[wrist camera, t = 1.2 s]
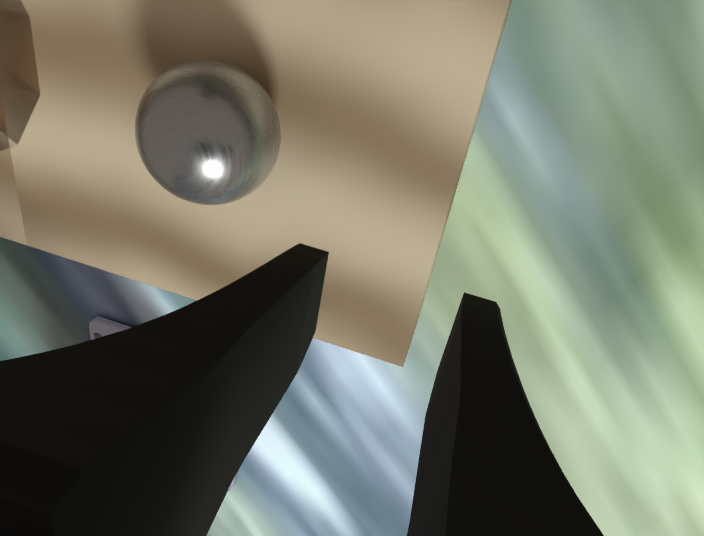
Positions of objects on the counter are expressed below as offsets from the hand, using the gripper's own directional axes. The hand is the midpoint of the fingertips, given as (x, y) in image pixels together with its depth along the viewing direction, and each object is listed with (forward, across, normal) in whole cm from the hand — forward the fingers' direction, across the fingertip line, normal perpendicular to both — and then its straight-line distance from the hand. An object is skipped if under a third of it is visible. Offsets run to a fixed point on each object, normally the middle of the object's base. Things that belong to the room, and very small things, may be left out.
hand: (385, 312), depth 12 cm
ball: (+5, +6, 0) cm, 8 cm away
